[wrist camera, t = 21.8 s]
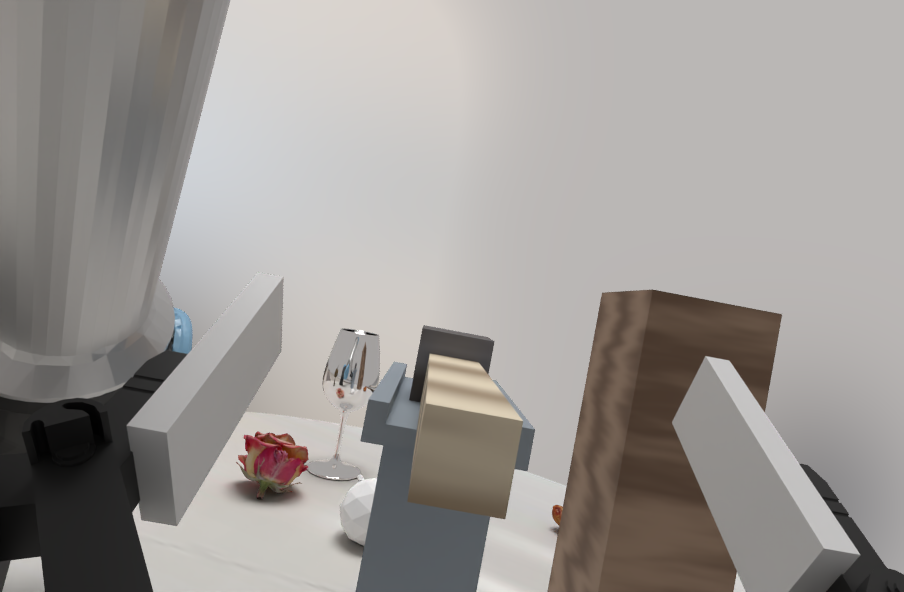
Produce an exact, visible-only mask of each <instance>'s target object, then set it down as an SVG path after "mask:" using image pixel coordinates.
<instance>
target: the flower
mask: <svg viewBox="0 0 904 592" xmlns="http://www.w3.org/2000/svg"><path fill="white" fill-rule="evenodd" d="M244 439H245V440H246V441H245V449H246V451H248V455H245V456H244V455H238V458H239V460H240V462H242V463H243V465H244V469H243V468H242V467H241V466H240V465H239V466H240V468H241V470H242V472H243V474H244V476H245V477H246V478H248V479H249V480H251V481H256V482H257V483H258V484H259V485H260V488H259V490H258V493H257V496H256V497H257V498H258V499H262V498H263V496H264V493H265V490H266V489H267V487H270V488H271V489H272V491H275V492H277V493H281V492H282V493H283V492H288V491H286V490H283V491H282V489H284V488H286V487H289V486H292V485H294V484H292V485H289V484H291V483H292V482H293V480H294V479H295V478H296V477H299V476H300V474H301V473H302V472H304V471H305V470H307V468H308V466H307V465H305V466H304V463H305V462H306V461H307V460H309V459H308V450H307V447H305V446H304V447H301V446H295V442H294V440H293V438H292V437H291V436H290V435H288V434H282V435H275V434H273V433H270V432H269V433H267V434H262V433H260V432H257V433H255V437H252V436H250V435H244ZM236 463H237V462H236ZM237 464H238V463H237ZM299 483H300V482H299ZM299 483H295V484H299ZM301 484H302V483H301ZM290 492H292V491H290Z"/></svg>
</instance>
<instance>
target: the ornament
mask: <svg viewBox="0 0 904 592" xmlns="http://www.w3.org/2000/svg"><path fill="white" fill-rule="evenodd" d="M357 479H358V481H359V482H358V483H356V484H355V485H354V486H353V487H352V488H350V489H349V490H348V492H347V494H346V496H345V497H344V499H343V501H342V503H341V504H340V516H341V525H342V527H343V529H344V531H345V533H346V535H347V536H348V538H349V539H351V540H353V541H355V542H357V543H359V544H360V545H362V546H364V545H365V540H366V535H367V530H368V524H369V519H370V514H371V508H372V503H373V498H374V493H375V487H376V482H377V478H371V479H363V475H358V477H357Z"/></svg>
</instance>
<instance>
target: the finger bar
mask: <svg viewBox="0 0 904 592" xmlns="http://www.w3.org/2000/svg"><path fill="white" fill-rule="evenodd" d="M493 346H494V341H493V340H491V339H490V338H488V337H484V336H478V335H473V334H468V333H462V332H456V331H451V330H446V329H441V328H436V327H430V326H425V325H424V326H423V329H422V334H421V340H420V345H419V350H418V356H417V361H416V366H415V371H414V377H413V382H412V387H411V392H410V398H409V400H410V401H416V402H420V410H419V417H418V425H417V433H416V440H415V448H414V455H413V463H412V470H411V478H410V485H409V493H408V500H407V502H410V503H416V504H422V505H427V506H433V507H439V508H444V509H450V510H456V511H461V512H467V513H473V514H478V515H484V516H490V517H496V518H501V519H505V517H506V512H507V506H508V501H509V496H510V490H511V485H512V479H513V474H514V469H515V463H516V458H517V452H518V447H519V442H520V436H521V431H522V425H523V420H522V419H521V417H520V416H519V415H518V413H517V412H516V411H515V409H514V408H513V407H512V406H511V404H510V403H509V402H508V400H507V399H506V398H505V396H504V395H503V394H502V392H501V391H500V390H499V388H498V387H497V386H496V384H495V383H494V382H493V380H492V379H491V378H490V376H489V375H488V373H489V367H490V362H491V356H492V351H493Z"/></svg>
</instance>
